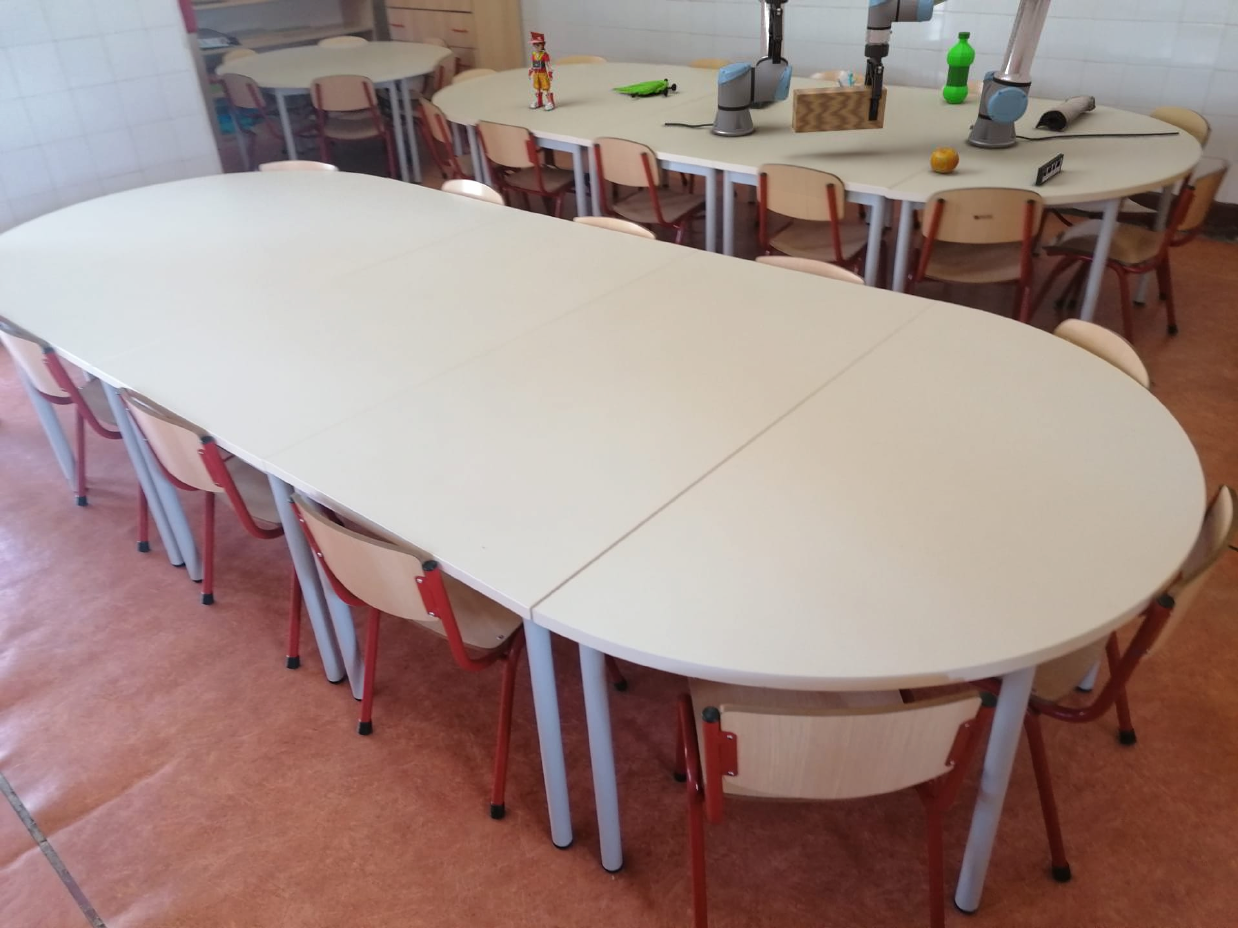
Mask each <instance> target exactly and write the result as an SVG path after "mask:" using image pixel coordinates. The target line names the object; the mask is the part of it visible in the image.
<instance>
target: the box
mask: <svg viewBox="0 0 1238 928" xmlns="http://www.w3.org/2000/svg"><path fill="white" fill-rule="evenodd" d="M887 93H888V89H887V88H886V87H885V86H884V85H883V84H882V98H881V99H880V100H879V107H878V117H877V121H868V119H869V109H870V100H869V99H870V98H872V85H862V86H859V85H855V86H844V87H841V86H829V87H828V86H827V87H811V88H810V87H809V88H794V89H793V95H792V116H791V128H792V130H793V132H794V133H795V134H803V133H804V134H805V133H822V132H842V131H843V132H844V131H859V130H860V131H862V130H877V129H879V130H881V129H884V121H885V114H886V104H887V96H888V94H887Z"/></svg>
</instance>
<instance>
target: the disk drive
mask: <svg viewBox="0 0 1238 928" xmlns="http://www.w3.org/2000/svg"><path fill="white" fill-rule="evenodd" d="M773 102H774V101H760V102H749V109H750V108H751V109H763V108H764V107H766V106H767V105H769V104H771V103H773Z"/></svg>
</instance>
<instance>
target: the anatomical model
mask: <svg viewBox="0 0 1238 928" xmlns="http://www.w3.org/2000/svg"><path fill="white" fill-rule="evenodd" d="M857 80H858V78H854V74H853V72H851V71H850V70H845V73H844V74H843V75H840V76H838V77H837V82H838V84H839V87H844V86H856V85H855V83H856V81H857ZM862 85H864V83H861V84H859V85H858V86H862Z"/></svg>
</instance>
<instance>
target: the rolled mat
mask: <svg viewBox="0 0 1238 928" xmlns="http://www.w3.org/2000/svg"><path fill="white" fill-rule="evenodd" d="M1096 107H1097V106H1096V98H1095V96H1094V95H1085V94H1084V95H1077V96H1071V97H1068V98H1066V99H1065V101H1064V102H1062V103H1060V104H1059V105H1056V106H1054V107H1052V108H1051V109H1049V110H1047V111H1045V112H1044V113H1043V114H1042V115H1041V116H1040V118H1039V120H1038V122H1037V124H1036V125H1035V129H1038V128H1041V127H1046V128H1048V130H1052V131H1056V132H1057V131H1058V132H1062V131H1063V130H1065V129H1066V128H1067V127H1068V126H1069V125H1070V124H1071V123H1072V122H1073V120H1075V119H1076V118H1077V117H1079V116H1080V115H1081V114H1082V113H1087V112H1092V111H1094V110H1095V109H1096Z"/></svg>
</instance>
